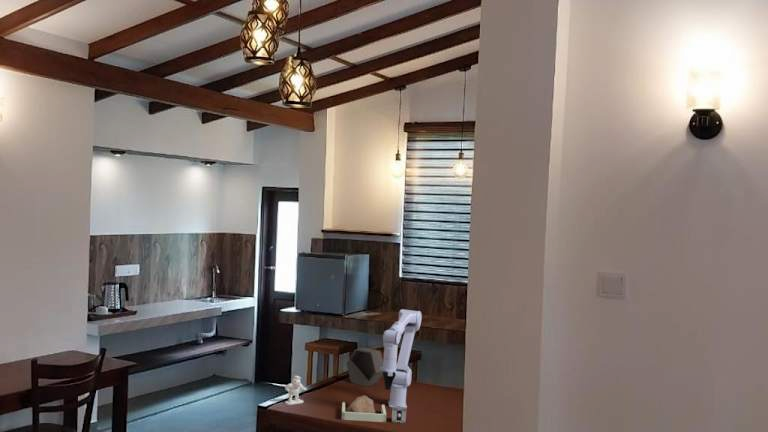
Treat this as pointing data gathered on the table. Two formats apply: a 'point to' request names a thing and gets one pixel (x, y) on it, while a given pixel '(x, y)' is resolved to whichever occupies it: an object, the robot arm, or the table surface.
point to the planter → (365, 367)
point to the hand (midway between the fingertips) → (387, 389)
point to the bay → (364, 415)
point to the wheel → (398, 414)
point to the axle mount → (403, 414)
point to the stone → (362, 405)
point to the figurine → (294, 391)
